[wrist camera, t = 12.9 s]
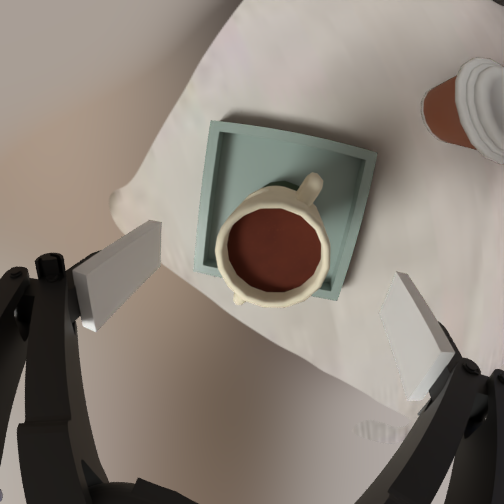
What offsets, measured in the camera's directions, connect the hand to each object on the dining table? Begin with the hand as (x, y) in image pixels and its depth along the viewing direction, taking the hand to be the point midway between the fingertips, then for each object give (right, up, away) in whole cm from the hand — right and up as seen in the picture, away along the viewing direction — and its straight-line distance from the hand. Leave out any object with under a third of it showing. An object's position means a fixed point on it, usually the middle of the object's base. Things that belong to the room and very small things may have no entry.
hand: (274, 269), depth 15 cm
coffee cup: (+20, +16, +8) cm, 27 cm away
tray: (+2, +5, +15) cm, 16 cm away
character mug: (+2, +5, +14) cm, 15 cm away
